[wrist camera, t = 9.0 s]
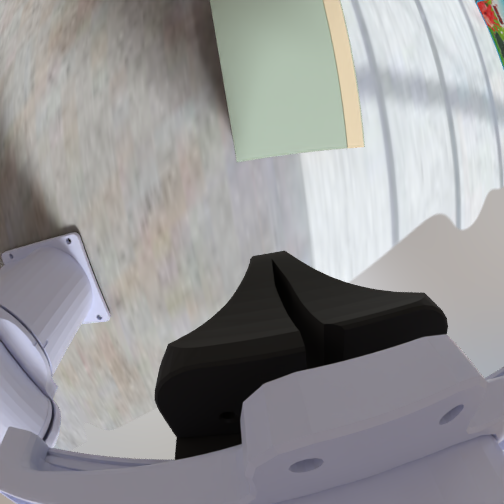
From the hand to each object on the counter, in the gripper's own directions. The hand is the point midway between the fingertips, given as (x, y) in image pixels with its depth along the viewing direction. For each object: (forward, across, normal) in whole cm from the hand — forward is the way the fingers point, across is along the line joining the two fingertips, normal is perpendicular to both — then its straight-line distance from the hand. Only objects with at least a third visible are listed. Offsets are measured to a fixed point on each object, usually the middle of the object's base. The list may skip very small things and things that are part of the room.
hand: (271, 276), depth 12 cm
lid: (+6, -3, -10) cm, 12 cm away
